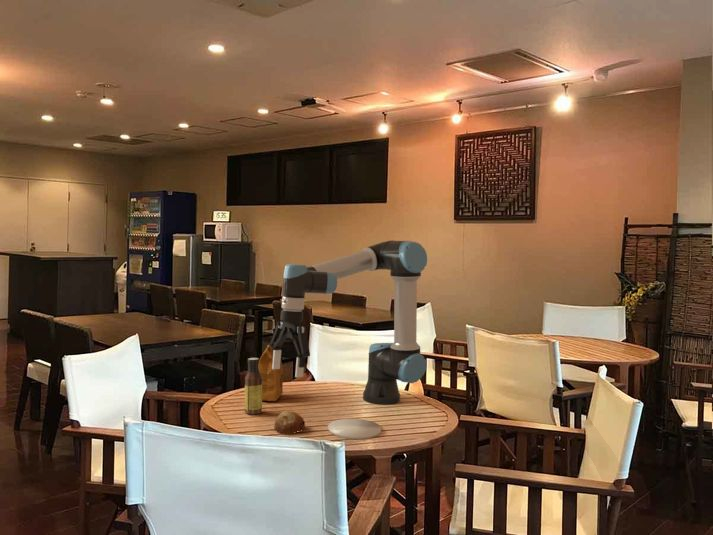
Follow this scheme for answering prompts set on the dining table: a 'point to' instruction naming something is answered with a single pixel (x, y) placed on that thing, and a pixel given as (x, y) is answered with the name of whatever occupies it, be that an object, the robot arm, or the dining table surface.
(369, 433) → the plate
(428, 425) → the dining table surface
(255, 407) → the sauce bottle
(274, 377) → the coffee package
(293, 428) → the bread roll
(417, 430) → the dining table surface
